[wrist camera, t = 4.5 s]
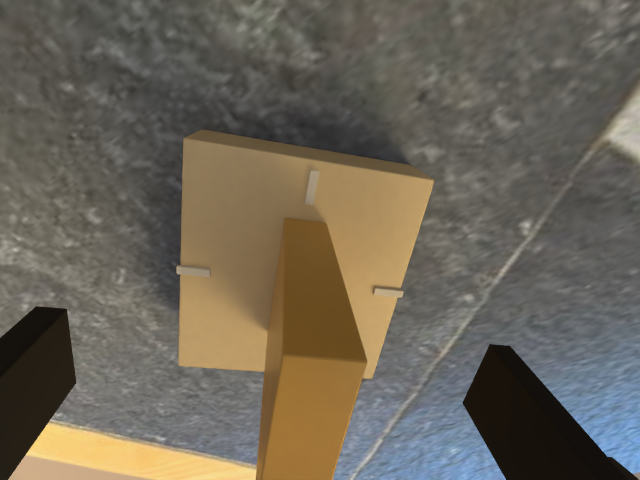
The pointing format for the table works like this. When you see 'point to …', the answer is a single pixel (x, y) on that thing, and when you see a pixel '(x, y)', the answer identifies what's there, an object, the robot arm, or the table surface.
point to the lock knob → (308, 360)
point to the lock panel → (266, 232)
